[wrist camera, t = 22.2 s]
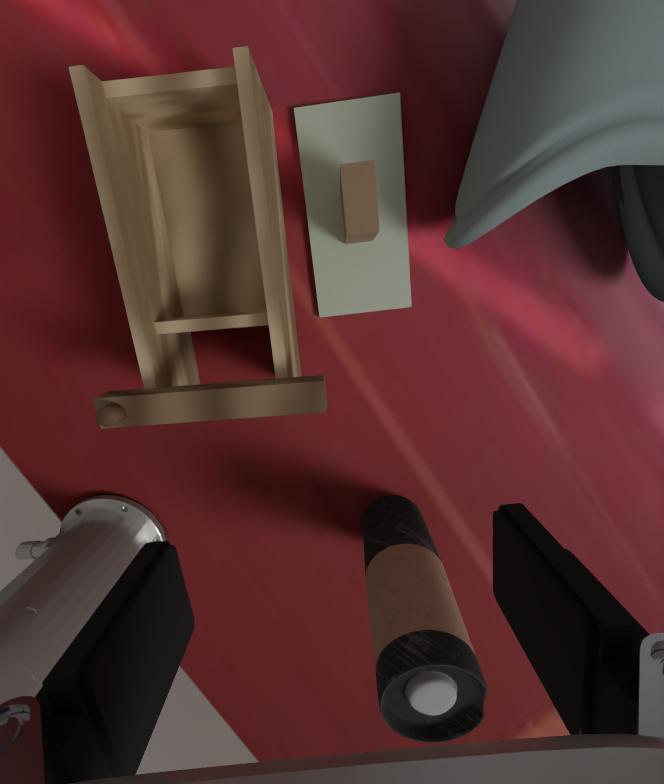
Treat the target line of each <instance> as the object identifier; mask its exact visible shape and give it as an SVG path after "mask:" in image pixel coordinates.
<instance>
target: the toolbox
mask: <svg viewBox="0 0 664 784" xmlns="http://www.w3.org/2000/svg"><path fill="white" fill-rule="evenodd" d="M233 55H234V62H235V67H228V68H219V69H210V70H201V71H192V72H183V73H174V74H165V75H156V76H147V77H139V78H130V79H121V80H112V81H103V82H102V81H101V80H100V79H99V78H98V77H96V76H95V75H94V74H93V73H92V72H91V71H90V70H88V69H87V68H86V67H85V66H84V65H79V66H71V67H69V70H70V75H71V79H72V83H73V87H74V92H75V96H76V100H77V104H78V109H79V113H80V117H81V121H82V126H83V130H84V134H85V138H86V143H87V147H88V151H89V155H90V160H91V164H92V168H93V172H94V177H95V181H96V185H97V189H98V194H99V198H100V202H101V206H102V211H103V215H104V219H105V223H106V228H107V232H108V236H109V240H110V245H111V249H112V253H113V257H114V262H115V266H116V270H117V274H118V279H119V283H120V287H121V291H122V296H123V300H124V304H125V308H126V312H127V317H128V321H129V325H130V329H131V334H132V338H133V342H134V346H135V351H136V355H137V359H138V363H139V368H140V372H141V376H142V380H143V385H144V389H148V388H161V387H174V386H187V385H200V379H199V373H198V368H197V363H196V358H195V352H194V347H193V342H192V337H191V332H192V331H204V330H216V329H228V328H240V327H252V326H264V325H269V331H270V338H271V346H272V354H273V361H274V369H275V377H276V379H277V378H290V377H301V368H300V359H299V350H298V341H297V332H296V323H295V314H294V305H293V296H292V286H291V277H290V268H289V259H288V250H287V241H286V232H285V223H284V214H283V205H282V196H281V187H280V177H279V168H278V159H277V150H276V141H275V132H274V123H273V114H272V109H271V107H270V104H269V101H268V99H267V96H266V93H265V91H264V88H263V85H262V83H261V80H260V77H259V75H258V72H257V69H256V67H255V64H254V61H253V59H252V56H251V53H250V51H249V48H248V46H246V47H237V48H233Z"/></svg>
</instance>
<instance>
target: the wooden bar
mask: <svg viewBox="0 0 664 784" xmlns="http://www.w3.org/2000/svg"><path fill="white" fill-rule="evenodd" d="M93 401H94V405H95V408H96V420H97V422H98V423H99V424H100V426H101V429H103V428H116V427H130V426H144V425H157V424H171V423H184V422H198V421H212V420H225V419H239V418H252V417H266V416H279V415H293V414H307V413H320V412H326V410H327V398H326V387H325V376H324V375H316V376H303V377H290V378H277V379H264V380H251V381H238V382H226V383H213V384H200V385H187V386H174V387H161V388H148V389H135V390H123V391H110V392H107V393H104V394H102V395H100V396H98V397H96V398H93Z"/></svg>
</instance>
